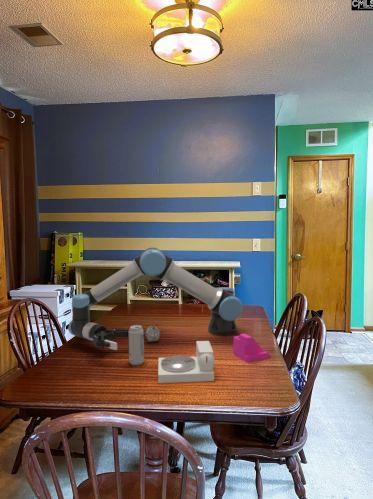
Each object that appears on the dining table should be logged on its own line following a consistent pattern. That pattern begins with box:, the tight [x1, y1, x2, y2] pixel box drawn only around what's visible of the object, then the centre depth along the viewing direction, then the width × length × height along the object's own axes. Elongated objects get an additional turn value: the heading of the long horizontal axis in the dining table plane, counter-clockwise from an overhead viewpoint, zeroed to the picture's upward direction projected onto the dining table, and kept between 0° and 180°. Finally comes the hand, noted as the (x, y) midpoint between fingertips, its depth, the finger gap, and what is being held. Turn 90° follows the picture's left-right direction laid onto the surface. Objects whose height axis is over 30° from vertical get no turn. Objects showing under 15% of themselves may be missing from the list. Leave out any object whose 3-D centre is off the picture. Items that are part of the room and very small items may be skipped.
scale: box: [157, 340, 216, 384], centre depth 133 cm, size 20×16×10 cm
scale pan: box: [161, 355, 195, 372], centre depth 133 cm, size 13×13×1 cm
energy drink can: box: [128, 324, 145, 366], centre depth 142 cm, size 6×6×15 cm
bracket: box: [232, 333, 272, 363], centre depth 149 cm, size 12×10×10 cm
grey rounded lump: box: [144, 324, 163, 344], centre depth 168 cm, size 9×8×10 cm
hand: (128, 341), depth 144 cm, fingers open, 13 cm apart
